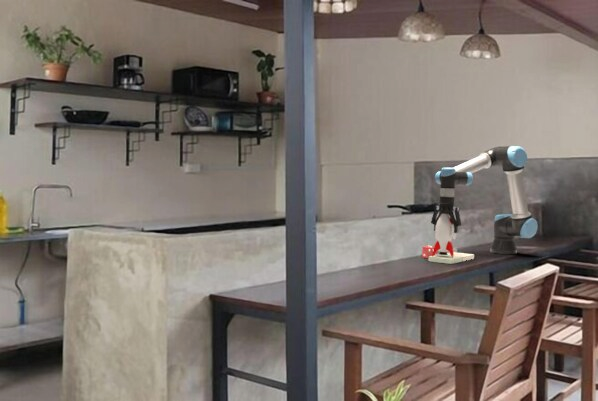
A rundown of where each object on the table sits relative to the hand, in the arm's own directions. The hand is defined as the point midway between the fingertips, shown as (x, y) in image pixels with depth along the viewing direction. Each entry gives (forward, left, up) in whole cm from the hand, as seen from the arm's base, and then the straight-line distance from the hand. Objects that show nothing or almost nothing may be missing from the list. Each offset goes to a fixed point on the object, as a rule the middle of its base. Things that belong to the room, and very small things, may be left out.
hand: (445, 238), depth 343 cm
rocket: (0, -1, -10) cm, 10 cm away
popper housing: (-9, -22, -13) cm, 27 cm away
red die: (+2, -14, -13) cm, 19 cm away
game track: (-6, -4, -13) cm, 15 cm away
